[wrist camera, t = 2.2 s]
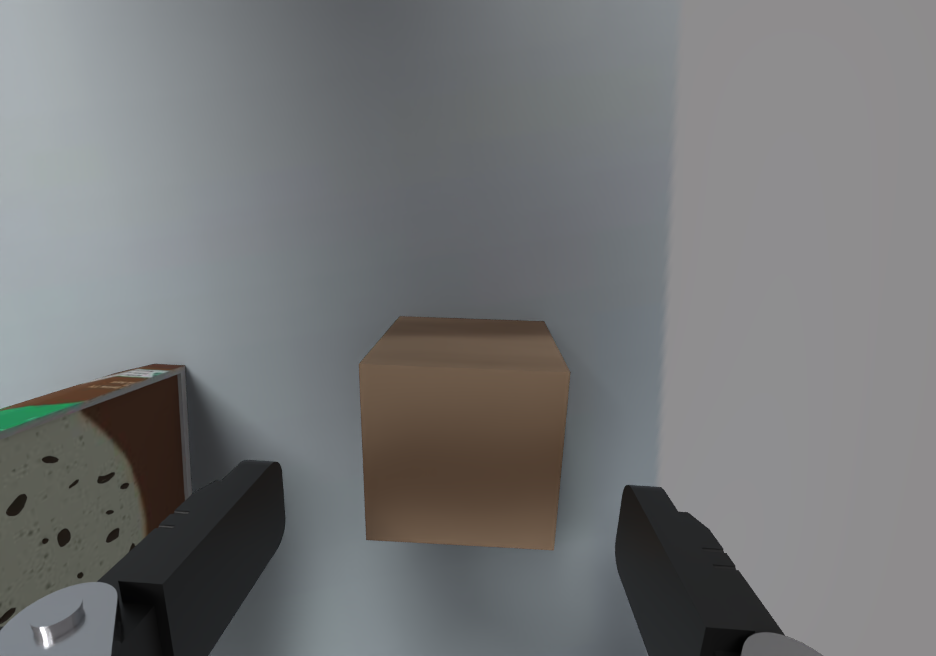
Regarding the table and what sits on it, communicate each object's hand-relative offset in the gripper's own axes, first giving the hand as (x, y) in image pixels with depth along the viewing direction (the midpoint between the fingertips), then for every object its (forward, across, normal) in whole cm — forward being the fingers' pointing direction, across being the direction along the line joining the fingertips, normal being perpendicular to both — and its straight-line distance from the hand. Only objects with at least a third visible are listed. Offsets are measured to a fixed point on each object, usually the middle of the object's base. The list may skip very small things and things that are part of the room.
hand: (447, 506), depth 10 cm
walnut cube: (+6, 0, -1) cm, 6 cm away
